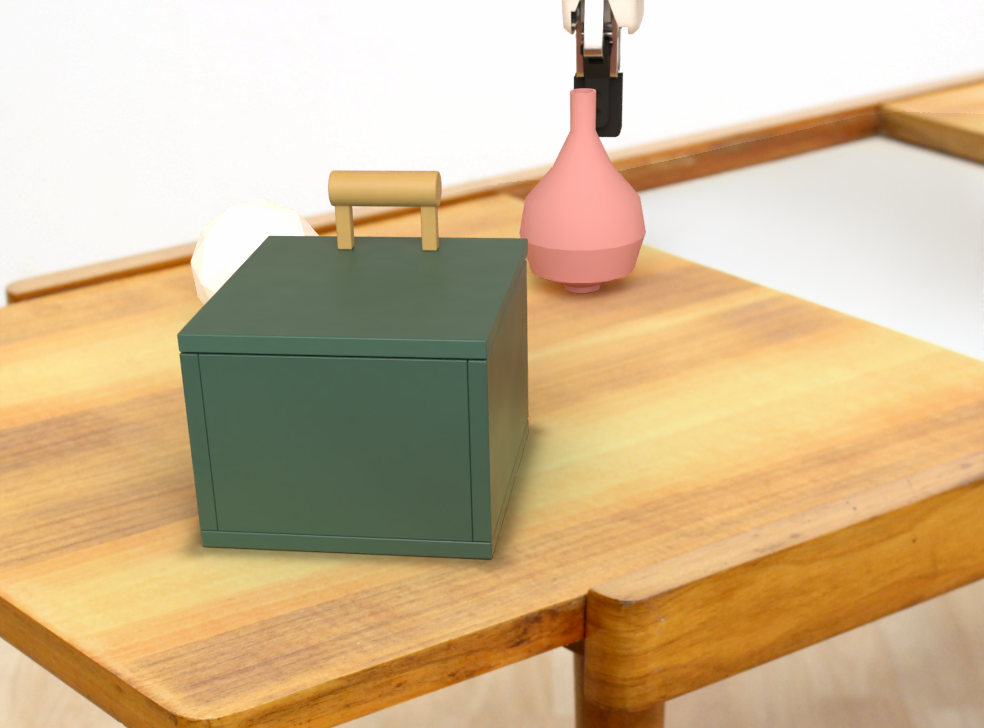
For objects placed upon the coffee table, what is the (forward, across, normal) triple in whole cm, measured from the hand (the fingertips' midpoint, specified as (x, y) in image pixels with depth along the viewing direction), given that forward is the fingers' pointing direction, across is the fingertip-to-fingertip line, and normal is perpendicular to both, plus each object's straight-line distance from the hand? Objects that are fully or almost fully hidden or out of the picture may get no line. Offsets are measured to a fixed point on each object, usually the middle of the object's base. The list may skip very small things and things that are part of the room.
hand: (597, 133), depth 106 cm
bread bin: (+6, -44, +7) cm, 45 cm away
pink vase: (+6, -14, 0) cm, 15 cm away
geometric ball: (+7, -23, +18) cm, 30 cm away
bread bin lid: (-3, -44, +7) cm, 44 cm away
